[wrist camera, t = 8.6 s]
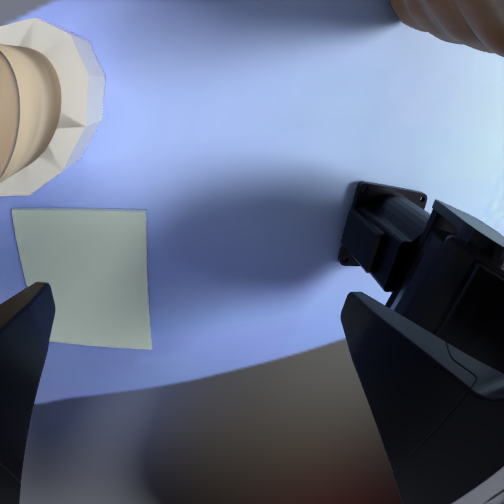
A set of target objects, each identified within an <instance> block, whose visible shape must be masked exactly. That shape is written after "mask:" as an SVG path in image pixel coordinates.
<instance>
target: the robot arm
mask: <svg viewBox="0 0 504 504" xmlns="http://www.w3.org/2000/svg"><path fill="white" fill-rule="evenodd" d="M364 187H366V189H365V191H363V192H362V189H363V188H364ZM421 197H422V199H421ZM420 199H421V200H420ZM426 202H427V196H426V194H424V193H422V192H419V191H414V190H409V189H404V188H398V187H393V186H388V185H382V184H376V183H370V182H360V183H359V184H358V186H357V188H356V192H355V196H354V200H353V204H352V208H351V210H350V211H349V214H348V218H347V222H346V226H345V229H344V233H343V237H342V240H341V243H342V245H341V248H340V252H339V255H338V261H339V262H340V264H341V265H343V266H361V267H362V268H363V269H364V270H365V272H366V273H370V274H371V275H372V277H373V278H374V279H375V280H376V281H377V283H378V284H379V285H380V286H381V288H382V289H383V290H384V291H385V292H392V294H391V296H390V297H389V299H388V301H387V303H386V305H383V304H381V303H380V302H378V301H376V300H375V299H373V298H371V297H369V296H368V295H366V294H364V293H363V292H350V293H349V294H348V295H347V298H346V300H345V303H344V306H343V309H342V311H341V322H342V325H343V329H344V333H345V336H346V340H347V343H348V347H349V351H350V354H351V358H352V361H353V363H354V366H355V369H356V371H357V374H358V377H359V379H360V382H361V385H362V387H363V390H364V392H365V395H366V398H367V401H368V403H369V406H370V409H371V411H372V414H373V417H374V419H375V422H376V425H377V428H378V431H379V434H380V436H381V439H382V442H383V445H384V448H385V451H386V454H387V457H388V460H389V463H390V466H391V469H392V471H393V476H394V479H395V482H396V485H397V488H398V491H399V494H400V497H401V501H402V504H504V237H503V236H502V235H501V234H500V233H499V232H497V231H496V230H494V229H493V228H491V227H490V226H488V225H486V224H485V223H483V222H482V221H480V220H479V219H477V218H475V217H473V216H471V215H469V214H467V213H465V212H463V211H461V210H459V209H456V208H454V207H452V206H450V205H448V204H445V203H443V202H441V201H439V200H437V199H435V201H434V204H433V206H432V208H433V210H432V213H431V214H429V213H428V212H426V211H425V210H424V208H425V205H426ZM345 257H347V258H346V259H345V260H343V259H344V258H345ZM55 311H56V307H55V302H54V298H53V294H52V290H51V286H50V284H49V283H48V282H35V283H33V284H32V285H30V286H29V287H27V288H25V289H24V290H22V291H21V292H19V293H18V294H16V295H14V296H13V297H11V298H10V299H8V300H7V301H5V302H4V303H2V304H1V305H0V504H19V500H20V488H21V476H22V468H23V461H24V454H25V447H26V441H27V436H28V430H29V425H30V420H31V415H32V411H33V406H34V402H35V398H36V393H37V389H38V385H39V382H40V378H41V374H42V370H43V367H44V363H45V359H46V356H47V351H48V346H49V341H50V335H51V331H52V326H53V321H54V317H55Z"/></svg>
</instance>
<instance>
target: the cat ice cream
mask: <svg viewBox="0 0 504 504" xmlns="http://www.w3.org/2000/svg"><path fill="white" fill-rule="evenodd" d="M390 4H391V6H392V8H393V10H394V12H395V14H396V15H397V17H398V18H399V19H400V21H401V22H402V23H404V24H406V25H407V26H409V27H412V28H414V29H417V30H420V31H424V32H429V33H430V34H432V35H434V36H435V37H437V38H439V39H440V40H443V41H446V42H450V43H455V44H464V45H467V46H469V47H472V48H474V49H477V50H480V51H484V52H488V53H496V54H498V55H500V56H502V57H504V0H390Z"/></svg>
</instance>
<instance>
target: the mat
mask: <svg viewBox="0 0 504 504" xmlns="http://www.w3.org/2000/svg"><path fill="white" fill-rule="evenodd" d="M11 211H12V218H13V224H14V230H15V235H16V241H17V246H18V251H19V255H20V260H21V264H22V269H23V273H24V277H25V281H26V285H27V287H29V286H30V285H32V284H33V283H35V282H48V283H49V284H50V286H51V290H52V294H53V298H54V302H55V307H56V311H55V317H54V321H53V326H52V331H51V335H50V341H51V342H59V343H68V344H78V345H88V346H100V347H112V348H127V349H145V350H152V338H151V326H150V312H149V296H148V274H147V210H137V209H101V208H13V209H12V210H11Z"/></svg>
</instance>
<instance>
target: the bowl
mask: <svg viewBox="0 0 504 504" xmlns="http://www.w3.org/2000/svg"><path fill="white" fill-rule="evenodd" d="M0 44H4V45H13V46H20V47H27V48H31V49H34V50H37V51H39V52H40V53H42V54H43V55H44V56H45V57H46V58H47V59H48V60H49V61H50V62H51V64H52V65H53V67H54V69H55V70H56V73H57V75H58V78H59V82H60V86H61V103H62V104H61V113H60V118H59V122H58V125H57V129H56V131H55V133H54V136H53V138H52V140H51V142H50V143H49V145H48V147H47V148H46V149H45V151H44V152H43V153H42V154H41V155H40V157H39V158H37V159H36V160H35V161H34V162H33V163H31V164H30V165H28V166H27V167H25V168H23V169H22V170H20V171H18V172H17V173H15V174H14V175H12V176H11V177H9V178H7V179H6V180H4V181H3V182H1V183H0V196H29V195H31V194H32V193H33V192H35V191H36V190H37V189H39V188H40V187H41V186H43V185H44V184H46V183H47V182H48V181H50V180H51V179H53V178H54V177H55V176H57V175H58V174H60V173H61V172H63V171H64V170H65V169H67V168H68V167H69V166H71V165H72V164H73V163H75V162H76V161H78V160H79V159H80V158H82V156H83V154H84V152H85V150H86V148H87V146H88V144H89V143H90V141H91V139H92V137H93V135H94V134H95V132H96V130H97V128H98V127H99V125H100V123H101V122H102V115H103V100H104V87H105V75H104V73H103V70H102V68H101V66H100V64H99V62H98V60H97V58H96V55H95V53H94V51H93V49H92V47H91V45H90V42H89V41H87V40H85V39H83V38H81V37H80V36H78V35H76V34H74V33H72V32H70V31H68V30H66V29H64V28H62V27H60V26H58V25H55V24H52V23H50V22H47V21H44V20H41V19H39V18H32V19H27V20H23V21H19V22H15V23H12V24H8V25H4V26H1V27H0Z"/></svg>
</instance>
